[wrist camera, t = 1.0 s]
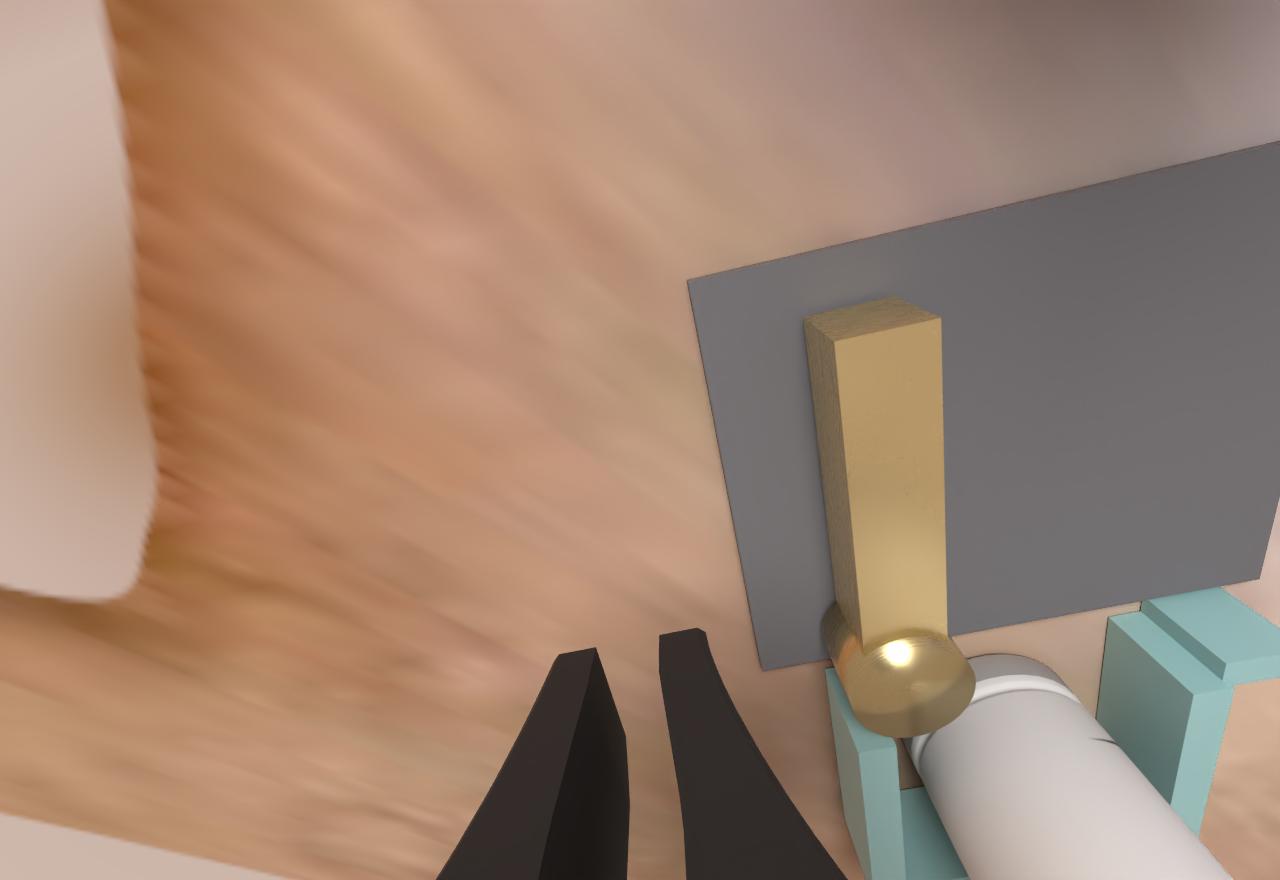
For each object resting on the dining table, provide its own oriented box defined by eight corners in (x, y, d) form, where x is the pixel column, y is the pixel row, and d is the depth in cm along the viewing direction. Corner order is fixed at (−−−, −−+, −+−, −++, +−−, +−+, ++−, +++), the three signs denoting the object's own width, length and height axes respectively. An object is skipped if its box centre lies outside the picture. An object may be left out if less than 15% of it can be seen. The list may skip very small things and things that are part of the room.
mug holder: (1214, 582, 21) (1320, 656, 18) (1176, 763, 25) (1258, 851, 21) (822, 655, 22) (856, 737, 19) (844, 818, 26) (875, 910, 22)
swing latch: (929, 653, 21) (975, 726, 18) (826, 672, 21) (857, 746, 18) (916, 291, 16) (977, 315, 13) (780, 321, 16) (812, 352, 13)
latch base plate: (1348, 124, 15) (1371, 123, 15) (1245, 570, 21) (1259, 579, 20) (686, 280, 16) (688, 283, 16) (759, 661, 22) (762, 671, 21)
